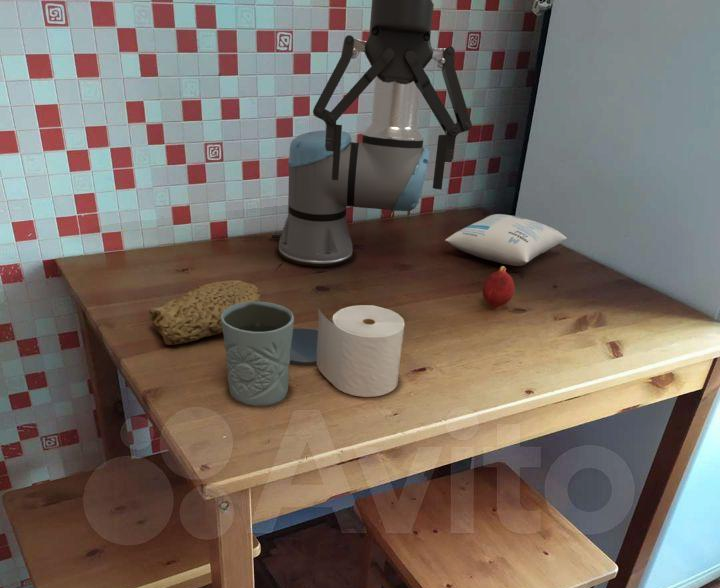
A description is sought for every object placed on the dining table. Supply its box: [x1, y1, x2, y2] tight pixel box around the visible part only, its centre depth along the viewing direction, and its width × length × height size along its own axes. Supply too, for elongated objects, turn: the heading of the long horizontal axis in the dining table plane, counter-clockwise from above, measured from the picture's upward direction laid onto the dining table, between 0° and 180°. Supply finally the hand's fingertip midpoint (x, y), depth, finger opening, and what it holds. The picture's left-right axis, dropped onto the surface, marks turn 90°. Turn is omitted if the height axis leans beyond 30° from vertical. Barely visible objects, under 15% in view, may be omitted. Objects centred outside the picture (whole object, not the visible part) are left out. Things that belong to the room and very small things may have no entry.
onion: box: [482, 265, 515, 309], centre depth 140 cm, size 6×6×8 cm
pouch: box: [444, 213, 568, 267], centre depth 161 cm, size 8×19×20 cm
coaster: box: [289, 328, 318, 366], centre depth 124 cm, size 12×12×1 cm
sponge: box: [148, 279, 262, 346], centre depth 125 cm, size 13×8×20 cm
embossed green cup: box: [221, 301, 295, 407], centre depth 109 cm, size 10×10×12 cm
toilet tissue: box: [315, 304, 406, 398], centre depth 114 cm, size 11×12×10 cm
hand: (386, 184), depth 100 cm, fingers open, 13 cm apart
